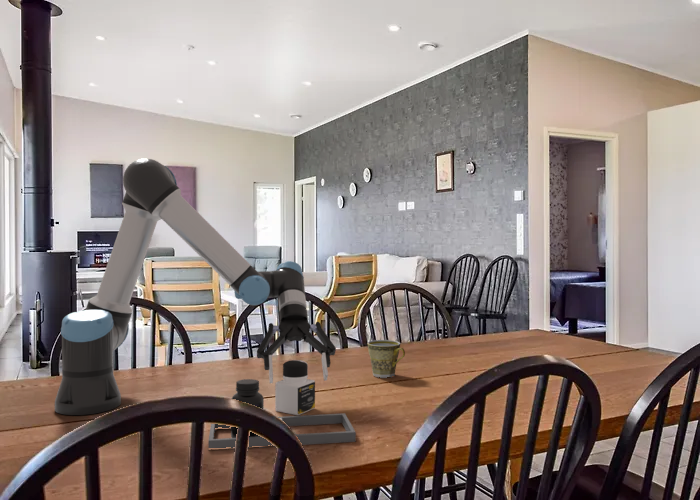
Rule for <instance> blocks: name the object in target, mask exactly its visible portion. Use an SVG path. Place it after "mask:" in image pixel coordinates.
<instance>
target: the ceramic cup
mask: <svg viewBox="0 0 700 500" xmlns="http://www.w3.org/2000/svg"><path fill="white" fill-rule="evenodd" d="M367 350H368V354H369V358H370V363H371V370H372V375H373V377H374V376H375V377H376V378H379V377H380V378H379V379H388V378H387V377H391V378H393V377H392V376H394V377H395V374H396V369H397V364H398V362H400V361H401V360H402V359H403V358H404V357H405V355H406V351H405V349H404V348H403V347H401V342H399V341H397V340H390V339H376V340H370V341H368V342H367ZM400 351H402V354H403V355H401V357H399V353H400ZM375 377H374V378H375Z"/></svg>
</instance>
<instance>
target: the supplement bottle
mask: <svg viewBox="0 0 700 500" xmlns="http://www.w3.org/2000/svg"><path fill="white" fill-rule="evenodd" d="M235 386H236V387H235V391H236V392H235V393H234V394H233V396H232V397H231V399H236V400H239V401H242V402H246V403H249V404H252V405H255V406H257V407H260V408H262V409H264V396H263V395H262V393H260V392H259V391H260V382H259V380H258V379H252V378H247V379H246V378H243V379H239V380H237V381H236V384H235ZM237 429H238V428H236V427H231V429H230V438H236V434H237ZM249 437H258V435H256V434H254V433H252V432H250V436H249Z"/></svg>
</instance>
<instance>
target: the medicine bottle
mask: <svg viewBox="0 0 700 500" xmlns="http://www.w3.org/2000/svg"><path fill="white" fill-rule="evenodd" d="M308 368H309V365H308V363H307V361H305V360H300V359H293V360H292V359H291V360H287V361H285V362H283V364H282V378H283V379H281V380H280V381H276V382H275V386H274V387H275V389H274V390H275V392H274V395H275V398H274V401H275V408H274V409H275V412H281V413H284V414H289V415H292V416H302V415H303V414H305V413H307V412H309V411H311V410H314V409H316V381H315V379H309V378H308V377H309V374H308V372H309V371H308V370H309V369H308Z"/></svg>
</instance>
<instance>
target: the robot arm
mask: <svg viewBox="0 0 700 500" xmlns="http://www.w3.org/2000/svg"><path fill="white" fill-rule="evenodd" d="M122 184H123V185H122V186H123V188H124V190H125V194H124V197H123V199H122V203H121V204H122V206H123V208H124V210H125V212H124V215H123V218H122V221H121V224H120V227H119V229H118V231H117V236H116V238H115V241H114V243H113V248H112V250H111V253H110V256H109V259H108V262H107V264H106V268H105V271H104V273H103V275H102V276H103V277H102V279H101V282H100V284H99V288H98V291H97V293H96V295H94V296H93V297H91V298H90V297H89V299H88V301H87V304H86V306H85V310H84V309H83V310H78V311H74V312H70V313H69V314H67V315H65V316H64V317H63V318H62V321H61V328H60V334H61V368H62V371H61V372H62V374H61V375H62V376H61V381H60V384H59V387H58V390H57V393H56V397H55V400H54V411H55V413H57V414H60V415H65V416H66V415H67V416H85V415H86V416H88V415H94V414H99V413H105V412H108V411H111V410H114V409H116V408H117V407H119V406H121V403H122V395H121V391H120V388H119V386H118V384H117V380H116V378H115V377H116V376H115V375H114V351H115V350H117V349H118V348H119V347H120V346H122V345H123V343H124V342H125V341H126V339H127V337H128V334H129V329H130V327H129V323H130V320H131V317H132V314H133V312H134V311H133V308H132V306H131V304H130V302H131V299H132V296H133V293H134V290H135V288H136V286H137V282H138V280H139V276H140V273H141V271H142V267H143V265H144V261H145V259H146V256H147V254H148V253H147V252H148V250H149V247H150V245H151V244H150V243H151V241H152V237H153V235H154V232H155V229H156V226H157V223H158V221H161V220H162V221H163V222H164V223H166V225H167V226H169V228H171V229H172V230H173V232H175V233H176V234H177V235H178V236H179V238H181V239H182V240H183V241H184V242H185V243H186V245H188V246H189V247H190V248H191V249H192V250H193V251H194V252H195V253H196V254H197V255H198V256H199V257H200V258H201V259H202V260H203V261H204V262H205V263H207V264H208V266H210V268H212V269H213V270H214V271H215V273H216V274H217V275H219V276H220V278H222V279H223V280H224V281H225V282H226V283H227V284H228V285H229V286H230V287H231V288H232V289H233V292H234V297H235V298H236V299H238V300H242V301H243V302H244V303H245V304H247V305H249V306H258V305H261V304H263V303H264V302H265V301H267V299H268V298H278V311H279V313H278V315H279V325H274V323H272V322H270V323H269V324H268V329H267V332H266V334H265V335H264V338H263V339H262V341H261V342H260V344H259V346H258V348H257V349H256V358H257V359H263V364H264V366H263V367H264V370H265V371H268V378H269V384H273V382H274V370H273V369H274V368H273V366H274V365H273V355H274V354H275V353H276V351H278V349H279V348H280V347H281V346H282V345H284V344H285V343H286V342H287V341H289V342H295V341H296V342H301V341H304V342H305V343H306V344H308V345H310V346H311V347H312V348H314V350H315V351H317V352H318V353H319V354H320V355H321V367H322V368H321V369H322V375H323V376H322V377H323V381H328V376H329V371H328V368H331V367H330V366H331V357H330V356H335V355H336V350H337V349H336V348H337V347H336V346H335V344H333V342H332V340H331V339H330V338H329V336H328V335H327V334H326V332H325V331H324V329H323V328H322V325H321V322H320V321H316V322H315V323H314V324H310V322H309V320H308V319H309V317H308V316H309V315H308V310H307V301H306V298H307V297H306V290H305V289H306V288H305V279H304V278H305V277H304V274H303V268H302V266H301V265H300V264H299V263H297V262H295V261H292V260H291V261H289V260H288V261H287V260H286V261H284V262H282V263H279V265H277V267H276V270H269V271H267V270H266V271H263V270H262V271H257V269H255V267H253V266H252V264H251V263H249V262H248V260H246V258H244V257H243V255H241V254H240V252H238V250H237V249H236V248H234V247H233V246H232V245H231V244H230V243H229V241H227V240H226V239H225V238H224V236H222V235H221V234H220V232H218V230H216V229H215V228H214V227H213V226H212V225H211V224H210V223H209V222H208V221H207V220H206V219H205V218H204V217H203V216H202V214H200V213H199V212H198V211H197V210H196V209H195V208H194V207H193V206H192V205H191V204H190V203H189V202H188V201H187V199H185V198H184V197H183V196H182V192H181V191H182V190H181V188H179V187H178V184H177V179H176V176H175V174H174V172H173V171H172V170H171V169H170V168H169V167H167V165H163V164H162V163H161V162H159V161H158V160H156V159H152V158H139V159H137V160H134V161H133V162H131V163H130V164H129V165H127V168H126V169H125V170H124V173H123V177H122ZM310 331H312V332H313V333H314V334H316V336H317V338H316V337H315V336H314V335H313V334H312V332H310ZM277 332H279V336H278V337H276V339H275V340H274V341H273V342H272V344H271V345H270V346H268V345H269V344H270V342H271V340H272V338H273V335H275V334H276V333H277Z"/></svg>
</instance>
